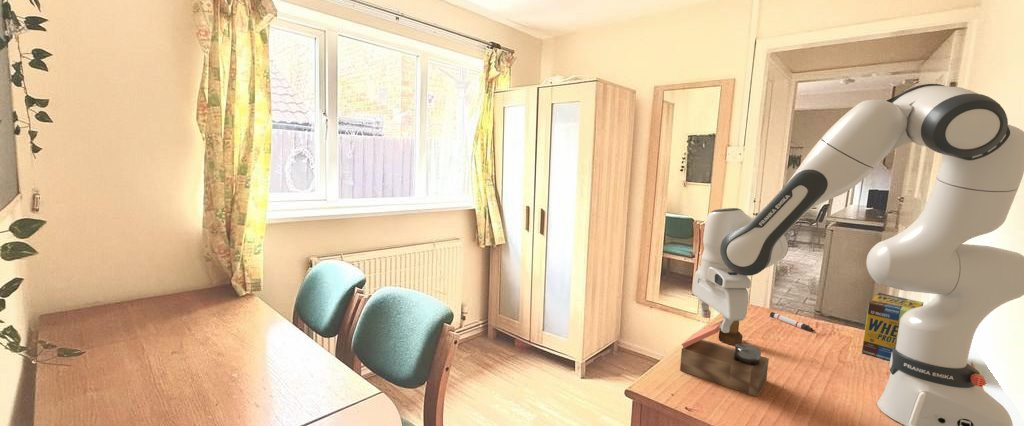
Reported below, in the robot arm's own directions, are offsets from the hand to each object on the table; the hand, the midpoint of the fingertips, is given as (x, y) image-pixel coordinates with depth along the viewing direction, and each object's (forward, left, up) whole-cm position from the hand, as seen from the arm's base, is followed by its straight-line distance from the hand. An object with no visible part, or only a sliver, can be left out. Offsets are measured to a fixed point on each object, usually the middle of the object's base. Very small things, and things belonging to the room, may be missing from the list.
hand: (714, 324), depth 110 cm
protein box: (-35, -50, -14) cm, 63 cm away
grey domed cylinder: (-8, -1, -12) cm, 15 cm away
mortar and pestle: (+2, -25, -13) cm, 29 cm away
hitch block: (-3, 0, -13) cm, 14 cm away
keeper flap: (+2, -1, -4) cm, 4 cm away
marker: (-10, -55, -14) cm, 58 cm away
